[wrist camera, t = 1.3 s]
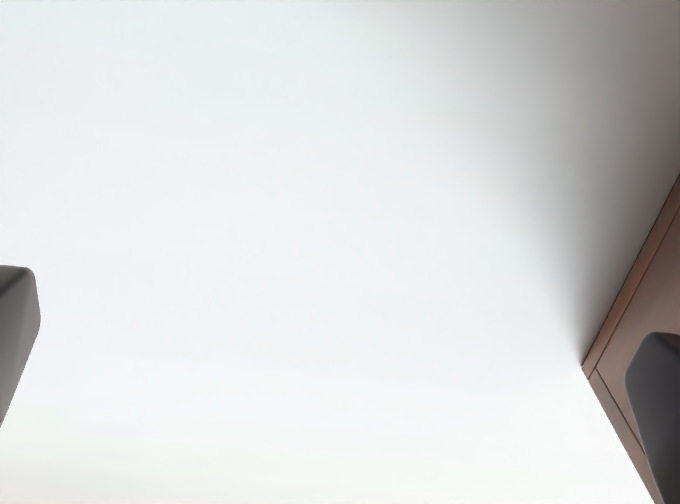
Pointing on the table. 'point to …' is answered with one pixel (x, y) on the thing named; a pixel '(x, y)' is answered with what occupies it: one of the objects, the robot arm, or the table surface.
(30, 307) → the robot arm
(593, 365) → the walnut box
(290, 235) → the table surface
